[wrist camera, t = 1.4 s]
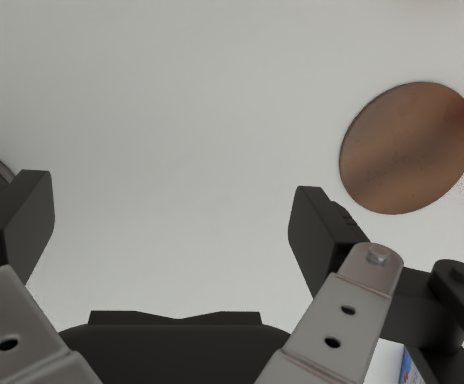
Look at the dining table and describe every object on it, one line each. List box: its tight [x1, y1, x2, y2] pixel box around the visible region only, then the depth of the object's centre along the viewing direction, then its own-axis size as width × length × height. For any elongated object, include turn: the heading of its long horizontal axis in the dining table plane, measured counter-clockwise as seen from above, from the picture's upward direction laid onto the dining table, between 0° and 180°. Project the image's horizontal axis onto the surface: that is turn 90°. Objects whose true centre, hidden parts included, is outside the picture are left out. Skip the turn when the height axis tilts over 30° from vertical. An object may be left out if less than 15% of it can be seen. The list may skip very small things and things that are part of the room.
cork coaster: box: [339, 82, 464, 215], centre depth 35 cm, size 12×12×1 cm
